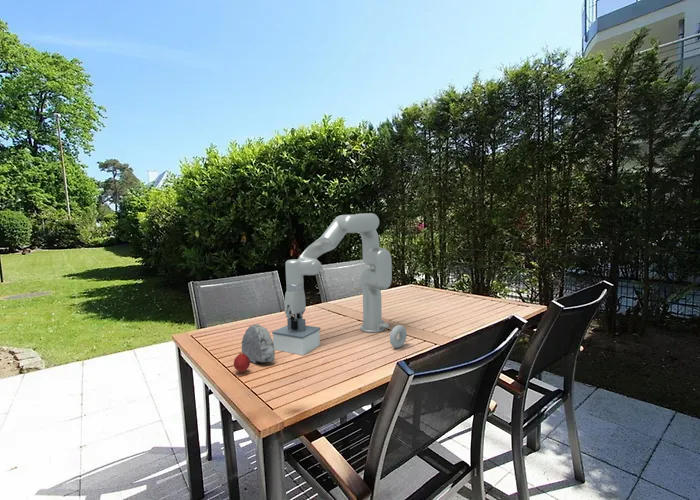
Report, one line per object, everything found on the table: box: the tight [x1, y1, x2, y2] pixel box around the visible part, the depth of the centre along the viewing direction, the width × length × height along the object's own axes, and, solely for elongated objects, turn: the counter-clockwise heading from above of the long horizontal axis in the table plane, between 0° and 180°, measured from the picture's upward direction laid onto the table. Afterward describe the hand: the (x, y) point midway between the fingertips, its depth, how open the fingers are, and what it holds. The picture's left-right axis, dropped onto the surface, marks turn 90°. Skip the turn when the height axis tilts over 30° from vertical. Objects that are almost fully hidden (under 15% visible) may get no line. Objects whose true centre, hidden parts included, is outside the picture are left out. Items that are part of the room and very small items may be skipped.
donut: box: [389, 324, 408, 349], centre depth 152 cm, size 10×4×10 cm, turn 133°
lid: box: [271, 317, 322, 339], centre depth 155 cm, size 17×14×7 cm
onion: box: [233, 351, 251, 374], centre depth 130 cm, size 6×6×8 cm
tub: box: [272, 330, 321, 356], centre depth 155 cm, size 16×13×7 cm
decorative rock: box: [241, 323, 276, 364], centre depth 140 cm, size 16×7×15 cm, turn 49°
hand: (296, 327), depth 155 cm, fingers closed on lid, 2 cm apart
